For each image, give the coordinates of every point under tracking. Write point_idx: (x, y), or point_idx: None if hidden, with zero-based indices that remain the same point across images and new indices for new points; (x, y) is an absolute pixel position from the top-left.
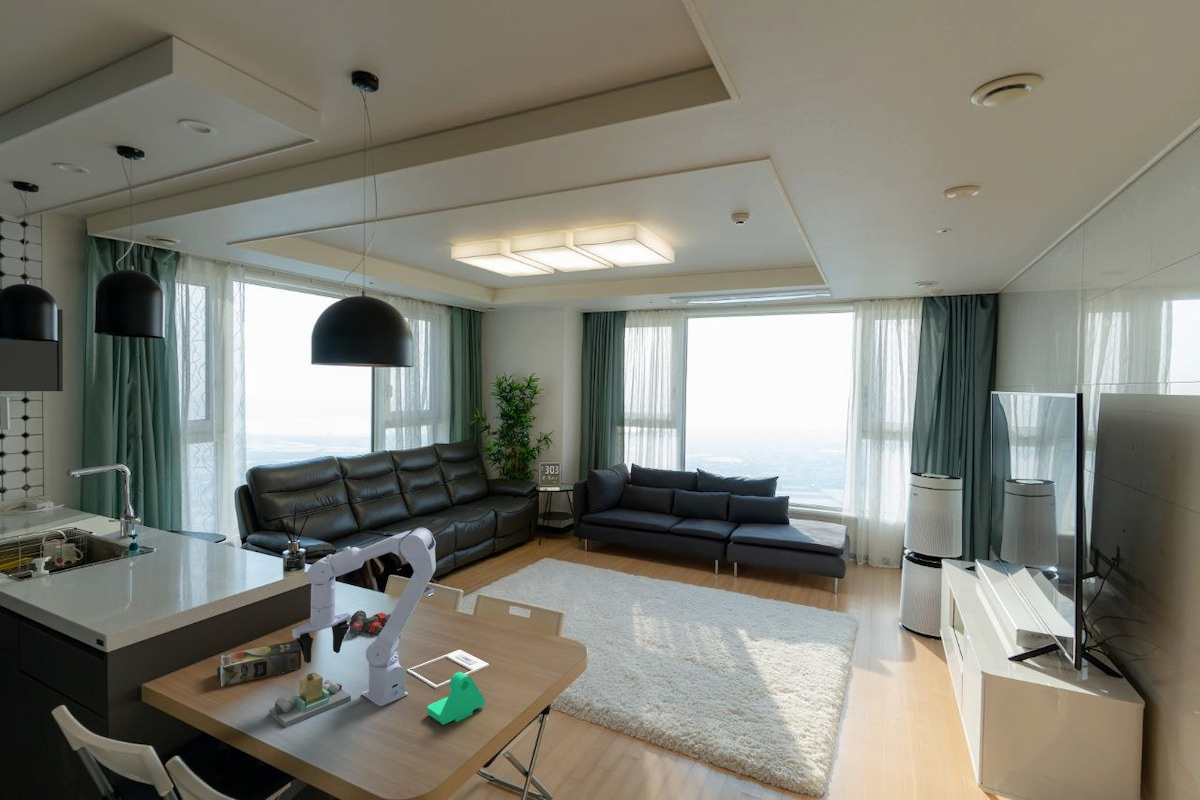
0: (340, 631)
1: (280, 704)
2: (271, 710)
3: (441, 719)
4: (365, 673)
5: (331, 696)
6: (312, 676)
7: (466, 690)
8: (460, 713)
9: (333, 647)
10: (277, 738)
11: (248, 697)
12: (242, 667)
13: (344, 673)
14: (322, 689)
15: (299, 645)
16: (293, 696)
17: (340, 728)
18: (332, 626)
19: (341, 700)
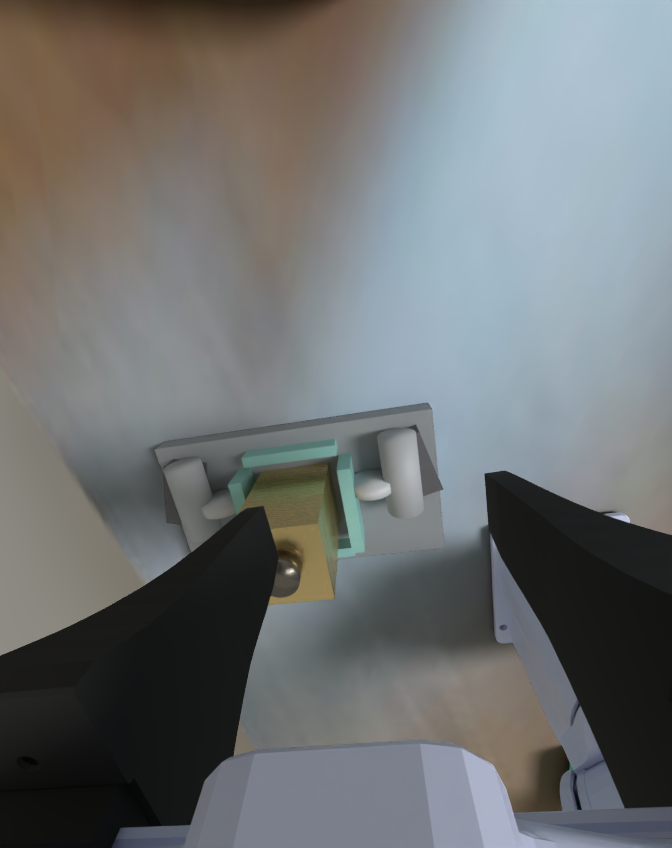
0: (622, 794)
1: (177, 510)
2: (161, 468)
3: None
4: (615, 342)
5: (382, 507)
6: (282, 594)
7: None
8: None
9: (495, 492)
10: None
11: (82, 222)
12: None
13: (539, 265)
14: (337, 553)
15: (138, 591)
16: (229, 489)
17: (346, 659)
18: (654, 618)
19: (403, 550)
